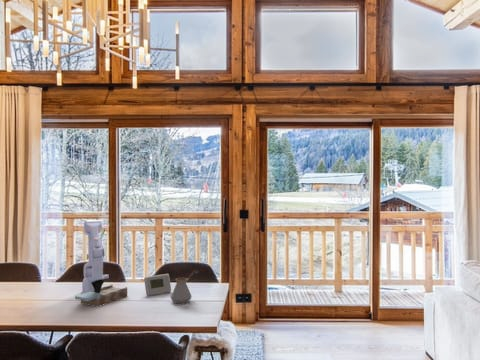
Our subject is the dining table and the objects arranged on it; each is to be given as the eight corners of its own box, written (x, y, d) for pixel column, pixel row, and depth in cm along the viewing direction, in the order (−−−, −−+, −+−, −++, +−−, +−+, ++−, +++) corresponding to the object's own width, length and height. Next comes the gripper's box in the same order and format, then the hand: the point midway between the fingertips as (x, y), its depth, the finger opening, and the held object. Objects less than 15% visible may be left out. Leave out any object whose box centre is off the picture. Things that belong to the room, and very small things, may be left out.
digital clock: (145, 296, 228) (145, 278, 228) (142, 292, 236) (142, 275, 236) (172, 293, 234) (172, 275, 235) (169, 289, 243) (169, 272, 243)
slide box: (111, 293, 235) (111, 284, 235) (127, 296, 229) (127, 287, 229) (80, 303, 215) (80, 293, 215) (97, 306, 209) (97, 296, 209)
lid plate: (90, 294, 219) (90, 291, 219) (102, 296, 214) (102, 293, 214) (75, 298, 210) (75, 296, 210) (87, 301, 205) (87, 298, 205)
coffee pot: (183, 306, 210) (183, 278, 210) (166, 303, 215) (166, 276, 215) (204, 296, 229) (204, 270, 229) (188, 293, 234) (188, 268, 234)
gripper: (92, 272, 209) (92, 298, 209) (112, 267, 222) (112, 291, 222) (83, 271, 212) (82, 296, 212) (103, 266, 225) (103, 289, 225)
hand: (97, 293), depth 217 cm, fingers closed
